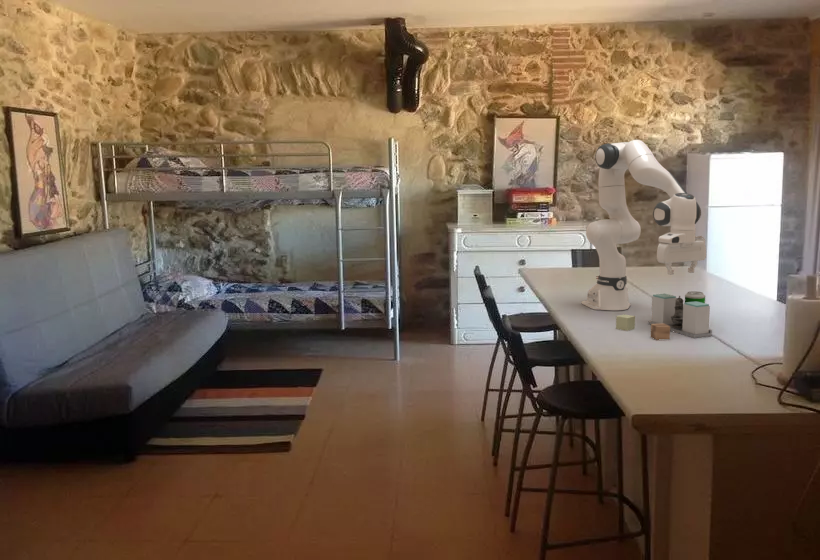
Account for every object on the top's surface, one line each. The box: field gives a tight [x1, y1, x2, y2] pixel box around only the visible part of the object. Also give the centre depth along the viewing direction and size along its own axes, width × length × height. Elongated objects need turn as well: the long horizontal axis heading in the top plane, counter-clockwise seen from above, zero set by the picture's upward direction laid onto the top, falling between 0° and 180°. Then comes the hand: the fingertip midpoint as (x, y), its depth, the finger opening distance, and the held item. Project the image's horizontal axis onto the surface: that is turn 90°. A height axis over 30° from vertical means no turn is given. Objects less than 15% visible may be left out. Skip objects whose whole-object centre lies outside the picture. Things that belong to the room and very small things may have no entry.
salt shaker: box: [671, 295, 684, 328], centre depth 287 cm, size 6×6×12 cm
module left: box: [650, 293, 677, 324], centre depth 295 cm, size 7×6×11 cm
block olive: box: [615, 314, 636, 332], centre depth 291 cm, size 5×5×5 cm
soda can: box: [684, 290, 706, 304], centre depth 299 cm, size 8×8×12 cm
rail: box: [647, 320, 713, 339], centre depth 288 cm, size 26×8×2 cm, turn 20°
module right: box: [682, 301, 711, 334], centre depth 278 cm, size 7×6×11 cm
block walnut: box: [650, 323, 671, 341], centre depth 275 cm, size 5×5×5 cm
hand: (680, 273), depth 285 cm, fingers open, 8 cm apart
